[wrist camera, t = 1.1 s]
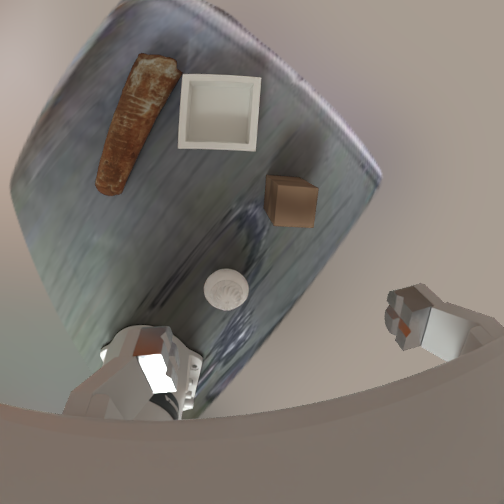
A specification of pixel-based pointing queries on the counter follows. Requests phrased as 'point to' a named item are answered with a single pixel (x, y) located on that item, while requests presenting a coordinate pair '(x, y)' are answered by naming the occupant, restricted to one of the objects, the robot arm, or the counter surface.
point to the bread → (135, 118)
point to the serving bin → (219, 112)
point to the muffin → (226, 289)
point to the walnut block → (290, 201)
